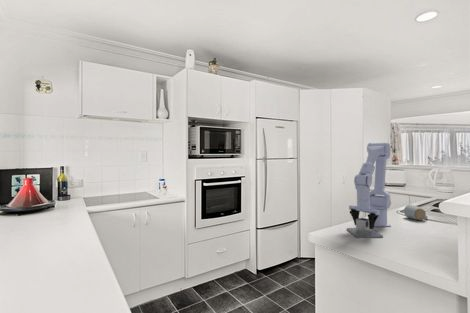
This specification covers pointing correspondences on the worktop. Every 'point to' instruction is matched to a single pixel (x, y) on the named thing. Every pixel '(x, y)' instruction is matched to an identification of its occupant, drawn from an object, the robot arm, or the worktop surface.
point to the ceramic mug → (415, 212)
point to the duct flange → (361, 235)
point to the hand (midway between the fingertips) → (363, 226)
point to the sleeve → (363, 226)
